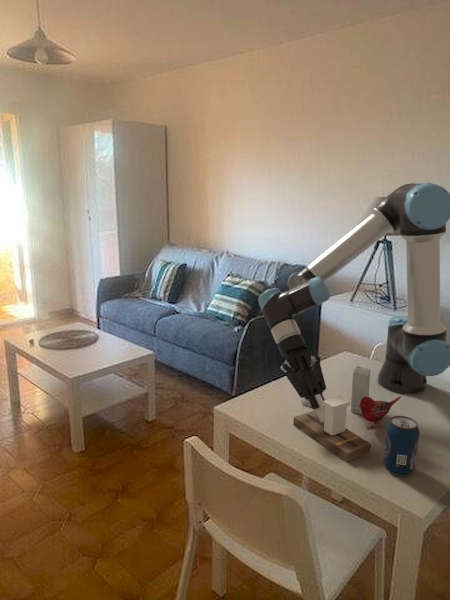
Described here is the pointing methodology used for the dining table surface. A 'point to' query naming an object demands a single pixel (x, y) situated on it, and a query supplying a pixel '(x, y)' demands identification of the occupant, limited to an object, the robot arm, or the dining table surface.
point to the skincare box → (359, 387)
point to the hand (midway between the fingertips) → (325, 419)
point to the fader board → (332, 437)
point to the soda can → (401, 445)
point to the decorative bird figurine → (375, 409)
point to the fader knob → (335, 415)
